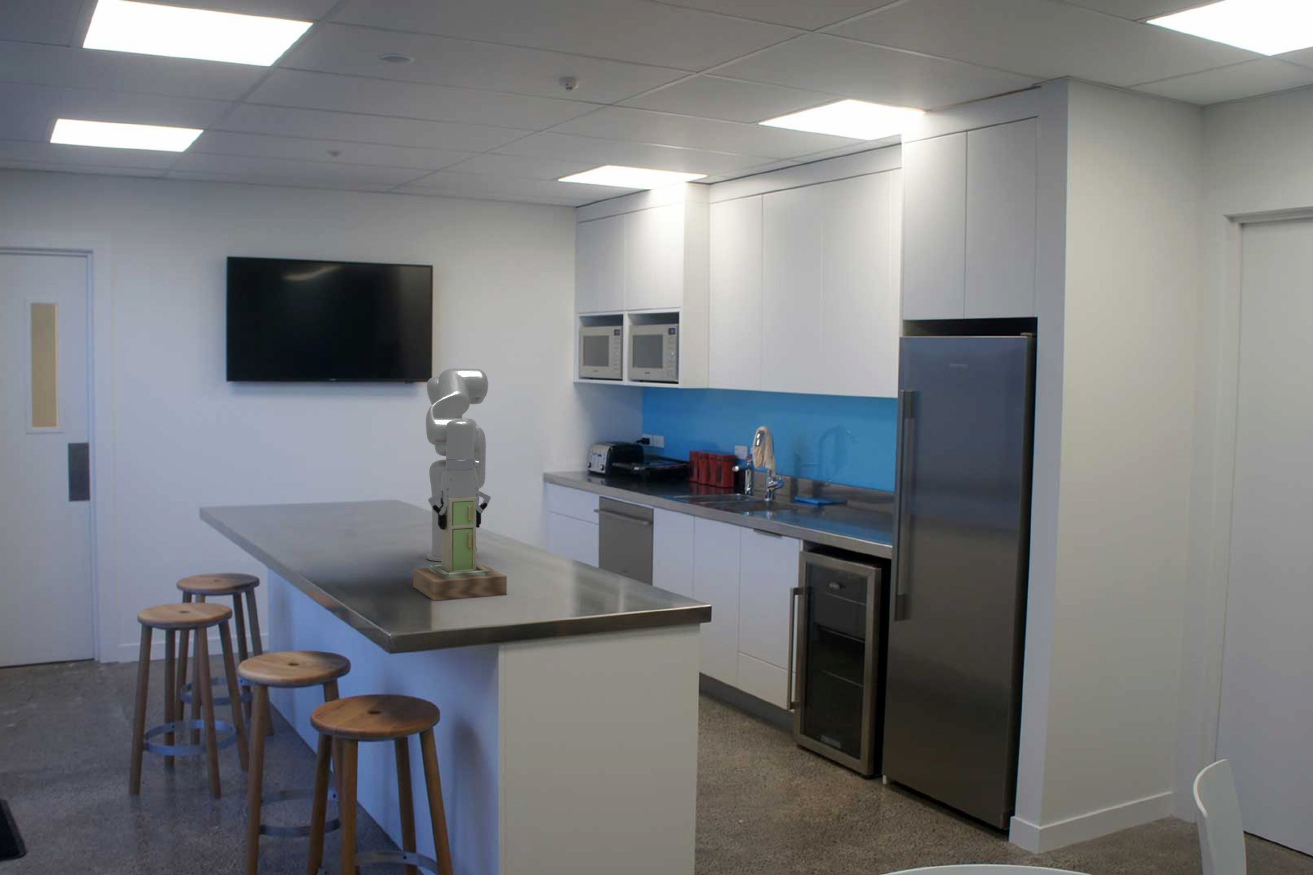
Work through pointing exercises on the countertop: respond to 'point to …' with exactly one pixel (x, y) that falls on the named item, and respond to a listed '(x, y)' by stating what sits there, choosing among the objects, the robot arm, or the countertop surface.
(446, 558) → the toy refrigerator
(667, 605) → the countertop surface
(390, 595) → the countertop surface
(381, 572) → the countertop surface
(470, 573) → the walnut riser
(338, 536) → the countertop surface
